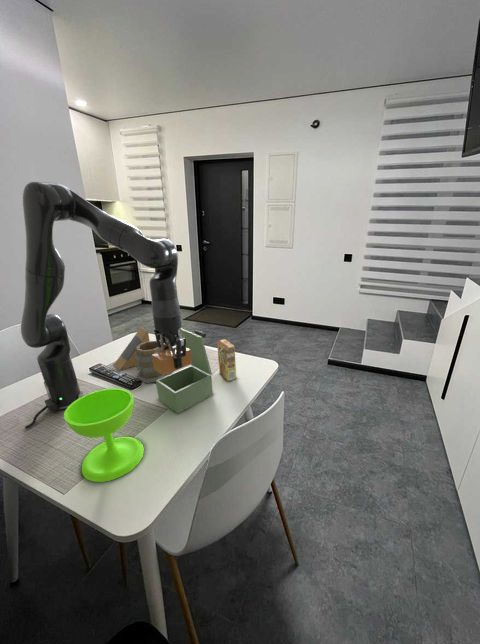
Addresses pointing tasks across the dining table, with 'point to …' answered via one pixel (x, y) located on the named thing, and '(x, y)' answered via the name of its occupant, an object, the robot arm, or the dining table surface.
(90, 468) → the wineglass
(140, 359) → the tankard
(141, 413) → the dining table surface
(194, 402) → the bin
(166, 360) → the orange-brown rectangular block
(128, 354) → the sandwich container
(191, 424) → the dining table surface
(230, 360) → the candy box
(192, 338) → the lid
